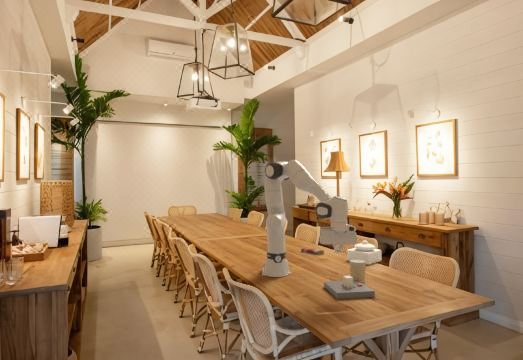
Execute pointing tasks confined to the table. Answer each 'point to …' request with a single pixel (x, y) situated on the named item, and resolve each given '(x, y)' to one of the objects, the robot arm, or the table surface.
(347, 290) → the socket plate
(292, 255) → the table surface
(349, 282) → the plug
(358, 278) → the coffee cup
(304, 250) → the pencil case
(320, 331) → the table surface
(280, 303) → the table surface
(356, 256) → the butter dish
